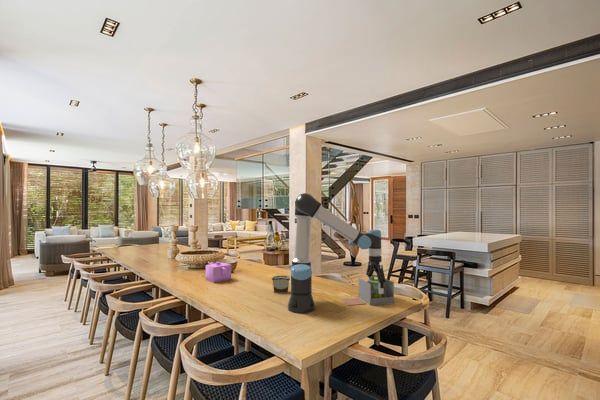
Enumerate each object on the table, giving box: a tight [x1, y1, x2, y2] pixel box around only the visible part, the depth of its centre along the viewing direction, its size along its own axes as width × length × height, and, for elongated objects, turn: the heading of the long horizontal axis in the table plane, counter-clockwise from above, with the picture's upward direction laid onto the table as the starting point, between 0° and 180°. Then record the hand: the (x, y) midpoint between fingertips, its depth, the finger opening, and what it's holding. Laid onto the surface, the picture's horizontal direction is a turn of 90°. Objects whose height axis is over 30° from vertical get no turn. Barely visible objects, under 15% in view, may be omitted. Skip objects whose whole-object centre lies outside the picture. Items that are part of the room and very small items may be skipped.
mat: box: [341, 297, 367, 307], centre depth 177 cm, size 11×11×1 cm
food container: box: [271, 275, 291, 294], centre depth 201 cm, size 12×6×10 cm, turn 84°
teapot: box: [205, 261, 232, 284], centre depth 235 cm, size 15×25×14 cm, turn 43°
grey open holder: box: [357, 277, 395, 306], centre depth 181 cm, size 15×16×12 cm
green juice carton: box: [366, 274, 385, 299], centre depth 181 cm, size 9×9×15 cm
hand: (375, 290), depth 181 cm, fingers open, 13 cm apart
